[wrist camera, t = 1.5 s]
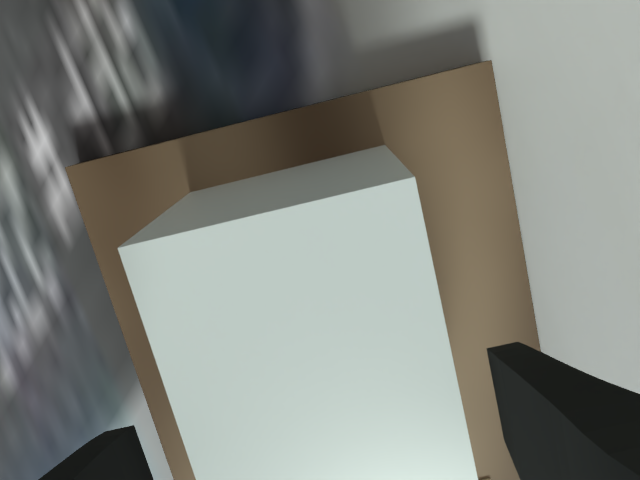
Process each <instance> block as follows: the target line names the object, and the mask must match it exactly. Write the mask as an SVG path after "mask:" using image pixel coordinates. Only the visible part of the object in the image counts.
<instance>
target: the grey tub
mask: <svg viewBox="0 0 640 480" xmlns="http://www.w3.org/2000/svg"><path fill="white" fill-rule="evenodd" d="M118 251H119V254H120V257H121V260H122V263H123V266H124V269H125V272H126V275H127V278H128V281H129V284H130V287H131V290H132V293H133V295H134V298H135V301H136V304H137V307H138V310H139V313H140V316H141V319H142V322H143V325H144V328H145V331H146V334H147V337H148V340H149V343H150V346H151V349H152V352H153V355H154V357H155V360H156V363H157V366H158V369H159V372H160V375H161V378H162V381H163V384H164V387H165V390H166V393H167V396H168V399H169V402H170V405H171V408H172V411H173V414H174V416H175V419H176V422H177V425H178V428H179V431H180V434H181V437H182V440H183V443H184V446H185V449H186V452H187V455H188V458H189V461H190V464H191V467H192V470H193V473H194V476H195V478H196V480H478V477H477V472H476V467H475V462H474V458H473V453H472V448H471V443H470V438H469V434H468V429H467V424H466V419H465V414H464V410H463V405H462V400H461V395H460V390H459V386H458V381H457V376H456V371H455V366H454V362H453V357H452V352H451V347H450V342H449V338H448V333H447V328H446V323H445V318H444V314H443V309H442V304H441V299H440V294H439V290H438V285H437V280H436V275H435V270H434V266H433V261H432V256H431V251H430V246H429V242H428V237H427V232H426V227H425V222H424V218H423V213H422V208H421V203H420V198H419V194H418V189H417V184H416V179H415V176H414V175H413V174H412V173H411V172H410V171H409V170H408V169H407V168H406V167H405V166H404V165H403V163H402V162H401V161H400V160H399V159H398V158H397V157H396V156H395V155H394V154H393V153H392V152H391V151H390V150H389V148H388V147H387V146H386V145H382V146H378V147H374V148H370V149H366V150H362V151H357V152H353V153H349V154H345V155H341V156H337V157H333V158H329V159H325V160H321V161H317V162H312V163H308V164H304V165H300V166H296V167H292V168H288V169H284V170H280V171H276V172H271V173H267V174H263V175H259V176H255V177H251V178H247V179H243V180H239V181H235V182H231V183H226V184H222V185H218V186H214V187H210V188H206V189H202V190H198V191H194V192H190V193H189V194H187V195H186V196H185V197H183V198H182V199H181V200H179V201H178V202H177V203H176V204H174V205H173V206H172V207H170V208H169V209H168V210H166V211H165V212H164V213H162V214H161V215H160V216H159V217H157V218H156V219H155V220H153V221H152V222H151V223H149V224H148V225H147V226H145V227H144V228H143V229H142V230H140V231H139V232H138V233H136V234H135V235H134V236H132V237H131V238H130V239H129V240H127V241H126V242H125V243H123V244H122V245H121V246H119V247H118Z"/></svg>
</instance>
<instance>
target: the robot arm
mask: <svg viewBox="0 0 640 480" xmlns="http://www.w3.org/2000/svg"><path fill="white" fill-rule="evenodd" d="M486 349H487V354H488V359H489V364H490V370H491V375H492V380H493V385H494V390H495V396H496V401H497V406H498V411H499V416H500V421H501V427H502V432H503V437H504V441H505V444H506V446H507V449H508V451H509V453H510V456H511V458H512V461H513V463H514V466H515V468H516V471H517V473H518V475H519V478H520V480H640V394H638V393H635V392H632V391H629V390H627V389H624V388H621V387H619V386H616V385H614V384H611V383H608V382H606V381H603V380H601V379H598V378H596V377H594V376H591V375H589V374H587V373H584V372H582V371H580V370H578V369H575V368H573V367H571V366H569V365H567V364H565V363H563V362H560V361H558V360H556V359H554V358H552V357H550V356H548V355H546V354H544V353H542V352H540V351H538V350H536V349H534V348H532V347H529V346H527V345H525V344H523V343H520V342H514V343H509V344H504V345H500V346H495V347H491V348H486ZM39 480H153V477H152V474H151V472H150V469H149V466H148V463H147V460H146V458H145V455H144V452H143V449H142V447H141V444H140V441H139V438H138V435H137V433H136V430H135V427H134V425H133V426H129V427H124V428H120V429H115V430H110V431H106V432H104V433H102V434H100V435H99V436H97V437H95V438H94V439H92V440H91V441H89V442H88V443H86V444H85V445H84V446H82V447H81V448H79V449H78V450H77V451H75V452H74V453H73V454H71V455H70V456H69V457H67V458H66V459H65V460H63V461H62V462H61V463H60V464H58V465H57V466H56V467H54V468H53V469H52V470H50V471H49V472H48V473H47V474H45V475H44V476H43V477H41V478H40V479H39Z"/></svg>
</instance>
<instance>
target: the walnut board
mask: <svg viewBox="0 0 640 480" xmlns="http://www.w3.org/2000/svg"><path fill="white" fill-rule="evenodd" d="M382 145H386V146H387V147H388V148H389V150H390V151H391V152H392V153H393V154H394V155H395V156H396V157H397V158H398V159H399V160H400V161H401V162H402V163H403V165H404V166H405V167H406V168H407V169H408V170H409V171H410V172H411V173H412V174H413V175H414V176H415V179H416V184H417V189H418V194H419V198H420V203H421V208H422V213H423V218H424V222H425V227H426V232H427V237H428V242H429V246H430V251H431V256H432V261H433V266H434V270H435V275H436V280H437V285H438V290H439V294H440V299H441V304H442V309H443V314H444V318H445V323H446V328H447V333H448V338H449V342H450V347H451V352H452V357H453V362H454V366H455V371H456V376H457V381H458V386H459V390H460V395H461V400H462V405H463V410H464V414H465V419H466V424H467V429H468V434H469V438H470V443H471V448H472V453H473V458H474V462H475V467H476V472H477V477H478V480H520V478H519V475H518V473H517V471H516V468H515V466H514V463H513V461H512V458H511V456H510V453H509V451H508V449H507V446H506V444H505V441H504V437H503V432H502V427H501V421H500V416H499V411H498V406H497V401H496V396H495V390H494V385H493V380H492V375H491V370H490V364H489V359H488V354H487V349H486V348H491V347H495V346H500V345H504V344H509V343H514V342H520V343H523V344H525V345H527V346H529V347H532V348H534V349H536V350H538V351H540V352H541V350H540V344H539V339H538V333H537V327H536V321H535V315H534V309H533V303H532V297H531V291H530V285H529V279H528V274H527V268H526V262H525V256H524V250H523V244H522V238H521V232H520V226H519V220H518V214H517V209H516V203H515V197H514V191H513V185H512V179H511V173H510V167H509V161H508V155H507V149H506V144H505V138H504V132H503V126H502V120H501V114H500V108H499V102H498V96H497V90H496V85H495V79H494V73H493V67H492V61H491V60H490V61H484V62H479V63H475V64H471V65H467V66H463V67H459V68H455V69H451V70H447V71H443V72H439V73H435V74H431V75H427V76H423V77H420V78H416V79H412V80H408V81H404V82H400V83H396V84H392V85H388V86H384V87H380V88H376V89H372V90H368V91H364V92H360V93H356V94H352V95H348V96H344V97H340V98H336V99H332V100H328V101H324V102H320V103H316V104H312V105H308V106H304V107H300V108H296V109H292V110H288V111H284V112H280V113H276V114H272V115H268V116H264V117H260V118H256V119H252V120H249V121H245V122H241V123H237V124H233V125H229V126H225V127H221V128H217V129H213V130H209V131H205V132H201V133H197V134H193V135H189V136H185V137H181V138H177V139H173V140H169V141H165V142H161V143H157V144H153V145H149V146H145V147H141V148H137V149H133V150H129V151H125V152H121V153H117V154H113V155H109V156H105V157H101V158H97V159H93V160H89V161H85V162H82V163H78V164H75V165H71V166H68V167H65V169H66V172H67V175H68V178H69V181H70V184H71V186H72V189H73V192H74V195H75V198H76V201H77V204H78V206H79V209H80V212H81V215H82V218H83V221H84V224H85V227H86V229H87V232H88V235H89V238H90V241H91V244H92V247H93V249H94V252H95V255H96V258H97V261H98V264H99V267H100V270H101V272H102V275H103V278H104V281H105V284H106V287H107V290H108V292H109V295H110V298H111V301H112V304H113V307H114V310H115V313H116V315H117V318H118V321H119V324H120V327H121V330H122V333H123V335H124V338H125V341H126V344H127V347H128V350H129V353H130V355H131V358H132V361H133V364H134V367H135V370H136V373H137V376H138V378H139V381H140V384H141V387H142V390H143V393H144V396H145V398H146V401H147V404H148V407H149V410H150V413H151V416H152V419H153V421H154V424H155V427H156V430H157V433H158V436H159V439H160V441H161V444H162V447H163V450H164V453H165V456H166V459H167V462H168V464H169V467H170V470H171V473H172V476H173V479H174V480H196V478H195V476H194V473H193V470H192V467H191V464H190V461H189V458H188V455H187V452H186V449H185V446H184V443H183V440H182V437H181V434H180V431H179V428H178V425H177V422H176V419H175V416H174V414H173V411H172V408H171V405H170V402H169V399H168V396H167V393H166V390H165V387H164V384H163V381H162V378H161V375H160V372H159V369H158V366H157V363H156V360H155V357H154V355H153V352H152V349H151V346H150V343H149V340H148V337H147V334H146V331H145V328H144V325H143V322H142V319H141V316H140V313H139V310H138V307H137V304H136V301H135V298H134V295H133V293H132V290H131V287H130V284H129V281H128V278H127V275H126V272H125V269H124V266H123V263H122V260H121V257H120V254H119V251H118V247H119V246H121V245H122V244H123V243H125V242H126V241H127V240H129V239H130V238H131V237H132V236H134V235H135V234H136V233H138V232H139V231H140V230H142V229H143V228H144V227H145V226H147V225H148V224H149V223H151V222H152V221H153V220H155V219H156V218H157V217H159V216H160V215H161V214H162V213H164V212H165V211H166V210H168V209H169V208H170V207H172V206H173V205H174V204H176V203H177V202H178V201H179V200H181V199H182V198H183V197H185V196H186V195H187V194H189V193H190V192H194V191H198V190H202V189H206V188H210V187H214V186H218V185H222V184H226V183H231V182H235V181H239V180H243V179H247V178H251V177H255V176H259V175H263V174H267V173H271V172H276V171H280V170H284V169H288V168H292V167H296V166H300V165H304V164H308V163H312V162H317V161H321V160H325V159H329V158H333V157H337V156H341V155H345V154H349V153H353V152H357V151H362V150H366V149H370V148H374V147H378V146H382Z"/></svg>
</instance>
